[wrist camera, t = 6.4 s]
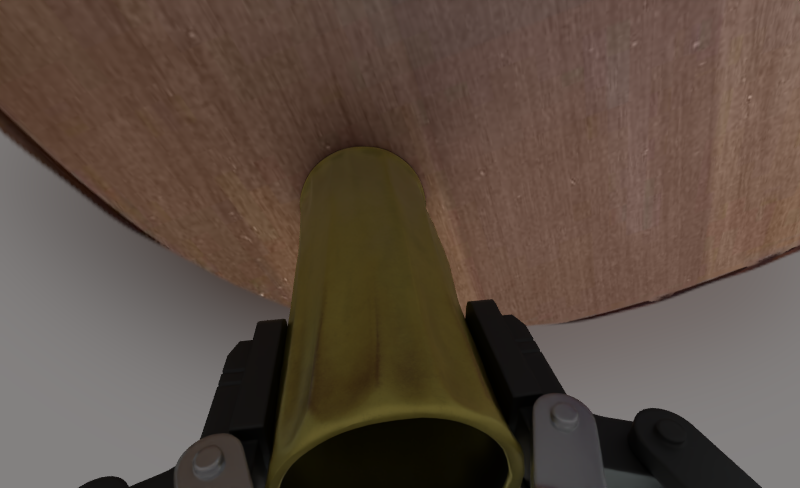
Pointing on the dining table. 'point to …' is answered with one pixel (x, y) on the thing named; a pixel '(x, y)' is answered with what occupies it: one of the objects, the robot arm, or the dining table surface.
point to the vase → (381, 346)
